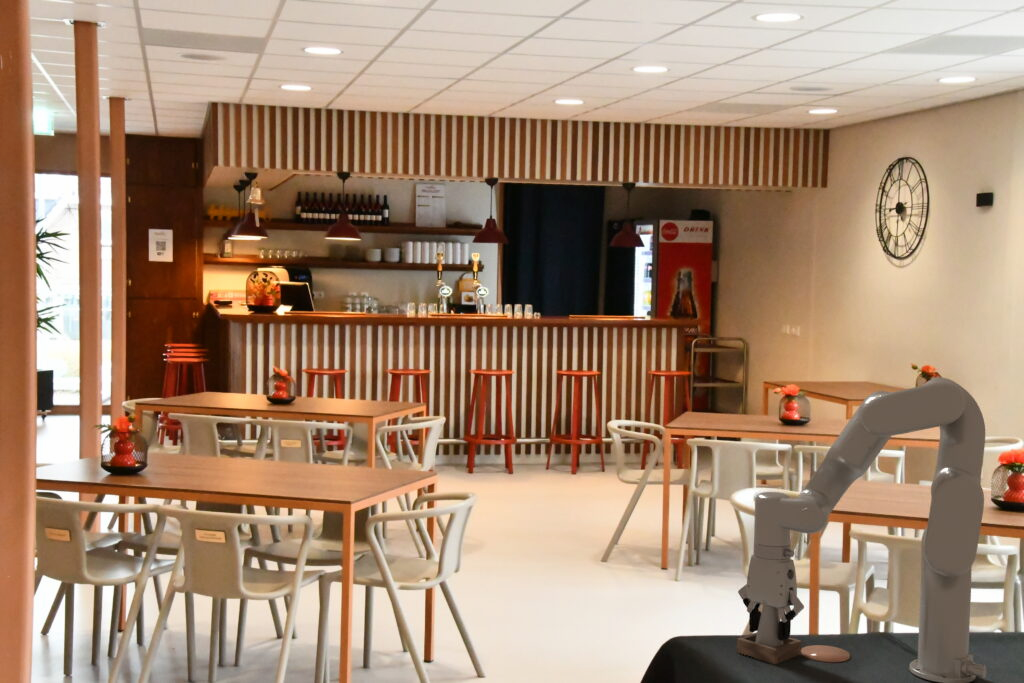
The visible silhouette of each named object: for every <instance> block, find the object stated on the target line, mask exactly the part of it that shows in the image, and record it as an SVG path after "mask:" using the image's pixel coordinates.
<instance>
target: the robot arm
mask: <svg viewBox="0 0 1024 683" xmlns="http://www.w3.org/2000/svg"><path fill="white" fill-rule="evenodd" d="M980 408H981V407H980V405H979V404H978V403H977V401H976V399H975V398H974V397H973V395H971V393H970V392H968V391H967V390H966V389H965V388H964V387H963V386H962V385H960V384H958V383H957V382H955V381H954V380H953V379H949V378H947V377H946V378H945V377H934V378H932V379H930V380H928V381H926V382H925V383H924V384H923V385H920V386H916V387H915V386H914V387H912V388H911V387H910V388H907V389H902V390H897V391H891V392H889V391H887V390H877V391H874V392H872V393H869V394H868V395H867V397H865V398H864V400H863V401H862V402H861V404H860V405H859V406H858V408H857V409H856V411H855V413H854V414H852V417H851V418H850V419H849V420H848V422H847V424H846V425H845V427H844V428H843V429H842V431H841V432H840V434H839V435H838V436H837V438H836V439H835V441H834V442H833V443H832V444H831V446H830V448H829V449H828V451H827V453H826V455H825V456H824V459H823V460H822V462H821V463H820V465H818V468H817V469H816V471H815V472H814V473H813V474H812V476H811V477H810V479H809V480H808V481H807V483H806V484H805V486H804V487H803V489H802V490H801V492H800V493H799V495H798V496H797V497H796V498H792V497H791V496H789V495H788V494H786V493H783V492H776V491H764V492H760V493H758V494H757V495H756V497H755V500H754V501H755V502H754V525H753V526H754V528H753V529H754V531H753V532H754V533H753V535H754V536H753V554H752V555H751V556H750V560H749V563H748V564H749V565H748V568H747V569H748V570H747V576H746V577H747V578H746V584H744V585H743V586H742V587H741V588H740V589H738V591H737V593H738V595H739V597H740V598H741V600H742V603H743V604H744V606H745V608H746V611H747V613H749V614H748V615H749V618H748V626H749V632H750V633H756V632H757V630H758V626H759V622H760V617H761V613H762V610H760V608H761V606H762V604H761V603H762V602H763V600H764V601H766V602H767V604H768V605H769V606H771V607H775V608H777V609H778V611H779V618H780V621H779V630H778V639H779V640H781V641H782V640H785V639H788V638H789V637H790V638H791V630H792V629H791V626H792V625H791V624H792V622H791V621H793V620H794V618H795V617H797V616H798V615H799V613H801V612H802V611H803V610H804V608H805V605H804V604H803V603H802V601H801V599H800V598H799V597H798V585H797V584H798V583H797V574H796V566H795V562H794V560H793V559H792V558H791V557H794V556H795V554H796V553H795V550H793V549H791V547H792V546H791V539H792V538H791V536H792V535H791V534H792V532H791V531H794V532H798V533H802V534H808V535H809V534H810V535H811V534H812V535H813V534H817V533H820V532H821V531H823V530H824V528H825V527H826V526H827V524H828V521H829V518H830V515H831V513H832V511H833V510H834V509H835V507H836V506H837V504H838V503H839V501H840V500H841V499H842V497H843V496H844V494H845V493H846V492H847V491H848V489H849V488H850V487H851V486H852V484H853V483H854V482H855V481H857V479H859V478H860V477H862V476H864V474H865V473H866V472H867V471H868V469H869V468H870V467H871V465H872V464H873V462H874V461H875V460H876V458H877V457H878V455H879V454H880V453H881V451H882V450H883V448H884V447H885V446H886V445H887V443H888V442H889V441H890V439H891V437H892V436H896V435H903V434H908V433H909V434H910V433H914V432H918V431H923V430H928V429H934V428H938V427H939V442H938V452H937V459H936V466H935V469H934V470H935V471H934V476H933V479H932V482H931V487H930V495H931V498H930V506H929V512H928V520H927V525H926V526H925V528H924V530H923V533H922V536H921V540H920V541H921V544H920V548H921V549H920V550H921V552H920V553H921V554H920V556H921V558H920V559H921V560H920V562H921V563H920V595H919V614H918V615H919V617H918V618H919V620H918V644H917V645H918V646H917V659H914V660H911V662H909V671H910V672H911V673H912V674H913V675H915V676H917V677H919V678H921V679H924V680H927V681H930V682H936V683H971V682H973V681H975V680H976V677H978V678H982V679H985V678H986V677H987V673H988V672H987V666H986V665H985V664H984V665H983V664H981V663H976V662H975V661H974V654H970V653H969V651H970V649H969V647H970V623H971V619H970V618H971V600H972V568H973V567H972V566H973V565H974V563H975V560H976V557H977V552H978V546H979V540H980V533H981V528H982V520H983V513H984V507H985V495H984V494H985V493H984V490H983V488H982V484H981V482H982V480H981V479H982V471H983V465H984V464H983V463H984V455H985V446H986V425H985V419H984V417H983V413H982V411H981V409H980ZM791 606H792V609H791Z"/></svg>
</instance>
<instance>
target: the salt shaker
mask: <svg viewBox="0 0 1024 683" xmlns="http://www.w3.org/2000/svg"><path fill="white" fill-rule="evenodd" d="M761 606H762V609H761V617H760V622H759V626H758V630H757V631H756V632H757V635H756V639H755V642H756V643H759V644H763V645H766V646H769V647H773V648H775V647H777V646H780V645H783V640H782V641H781V640H779V639H778V630H779V621H781V617H780V614H779V611H778V609H777V608H775V607H771V606H769V605H768V604H767V602H766V601H764V600H763V602H762V603H761Z"/></svg>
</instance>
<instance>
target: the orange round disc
mask: <svg viewBox="0 0 1024 683" xmlns="http://www.w3.org/2000/svg"><path fill="white" fill-rule="evenodd" d="M801 653H802V654H801V655H802V656H803V657H805V658H807V659H809V660H813V661H817V662H821V663H822V662H824V663H842V662H846V661H848V660H850V658H851V654H850V652H849V651H847V650H845V649H843V648H841V647H836V646H831V645H821V644H819V645H818V644H816V645H815V644H813V645H807V646H804V647H801Z"/></svg>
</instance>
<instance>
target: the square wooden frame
mask: <svg viewBox="0 0 1024 683" xmlns="http://www.w3.org/2000/svg"><path fill="white" fill-rule="evenodd" d="M756 635H757V631H755V632H752V633H749V634H747V635H745V636H741V637H738V638H736V653H737V654H740V653H741V654H740V655H743V654H744V655H743V656H746V655H748V656H747V657H749V656H751V657H750V658H752V657H754V658H753V659H757V660H760V661H762V662H766V663H769V664H773V665H777V664H779V663H782V662H785V661H788V660H790V658H791V659H793V658H796V657H799V656H801V655H802V654H801V649H802V640H799V639H796V638H793V637H791V636H790V637H789V638H788V639H785V640H783V645H780V646H777V647H775V648H773V647H769V646H766V645H763V644H759V643H756V642H755V639H756ZM798 655H799V656H798ZM787 659H788V660H787Z"/></svg>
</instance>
